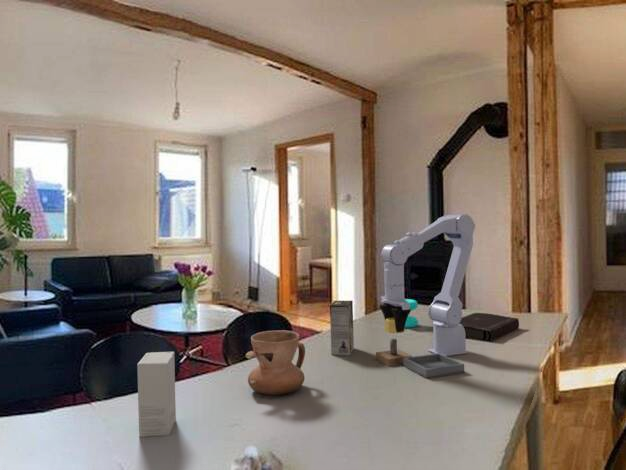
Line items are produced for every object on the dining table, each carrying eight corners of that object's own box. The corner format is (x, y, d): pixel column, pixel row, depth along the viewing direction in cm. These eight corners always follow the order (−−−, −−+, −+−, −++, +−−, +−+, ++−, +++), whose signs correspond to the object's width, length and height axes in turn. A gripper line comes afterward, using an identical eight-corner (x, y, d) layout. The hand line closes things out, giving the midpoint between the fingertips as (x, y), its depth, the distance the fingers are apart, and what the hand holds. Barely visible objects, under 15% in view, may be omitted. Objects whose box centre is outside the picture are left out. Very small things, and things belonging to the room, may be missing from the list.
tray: (439, 361, 150) (439, 353, 150) (464, 372, 139) (464, 364, 138) (403, 366, 146) (403, 357, 146) (426, 378, 135) (426, 369, 134)
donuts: (390, 298, 203) (415, 298, 203) (390, 323, 203) (415, 322, 203) (394, 303, 193) (420, 302, 193) (394, 328, 193) (420, 328, 193)
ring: (398, 328, 154) (398, 317, 154) (407, 332, 149) (407, 320, 149) (382, 330, 152) (382, 318, 152) (391, 333, 147) (391, 322, 147)
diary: (519, 330, 188) (519, 317, 188) (491, 344, 170) (491, 330, 170) (472, 323, 201) (472, 311, 200) (441, 335, 183) (441, 322, 182)
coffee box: (335, 347, 168) (334, 300, 168) (354, 348, 167) (353, 300, 167) (330, 355, 160) (329, 305, 159) (350, 355, 158) (349, 305, 158)
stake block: (398, 355, 157) (398, 335, 156) (412, 362, 149) (411, 341, 149) (375, 358, 154) (375, 337, 154) (388, 366, 146) (387, 344, 146)
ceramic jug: (263, 406, 118) (261, 346, 117) (233, 390, 129) (231, 336, 129) (323, 388, 129) (321, 334, 128) (290, 375, 140) (289, 325, 140)
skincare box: (148, 421, 111) (145, 352, 110) (178, 419, 111) (175, 350, 111) (138, 438, 103) (135, 363, 102) (171, 436, 103) (168, 361, 102)
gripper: (371, 282, 156) (372, 326, 156) (393, 288, 142) (394, 336, 143) (391, 281, 158) (392, 323, 159) (415, 287, 144) (416, 333, 145)
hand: (395, 329), depth 151 cm, fingers closed on ring, 5 cm apart
